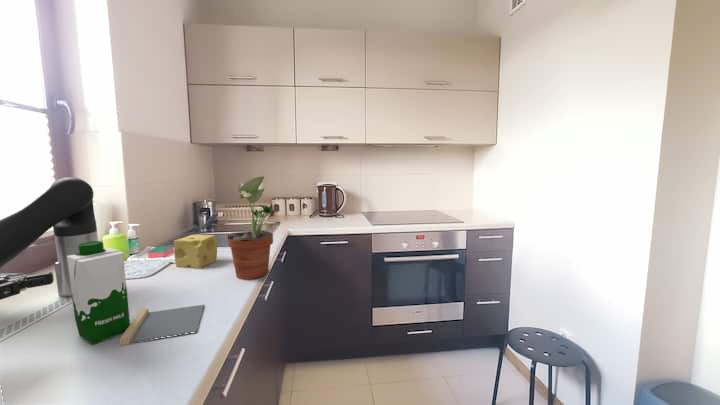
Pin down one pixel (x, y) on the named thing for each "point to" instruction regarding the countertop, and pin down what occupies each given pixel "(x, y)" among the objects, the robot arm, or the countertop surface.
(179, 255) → the cheese
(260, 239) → the potted plant
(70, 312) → the countertop surface
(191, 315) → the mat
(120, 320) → the white and green box
